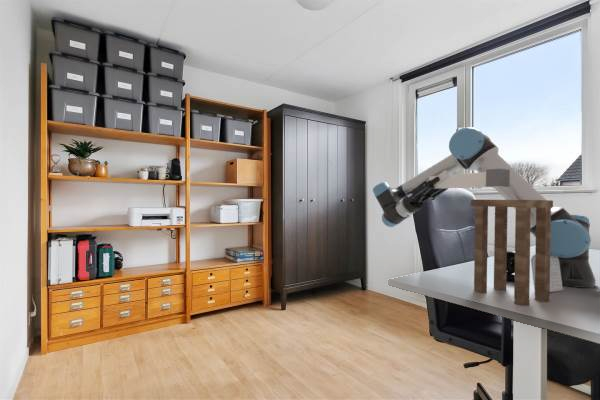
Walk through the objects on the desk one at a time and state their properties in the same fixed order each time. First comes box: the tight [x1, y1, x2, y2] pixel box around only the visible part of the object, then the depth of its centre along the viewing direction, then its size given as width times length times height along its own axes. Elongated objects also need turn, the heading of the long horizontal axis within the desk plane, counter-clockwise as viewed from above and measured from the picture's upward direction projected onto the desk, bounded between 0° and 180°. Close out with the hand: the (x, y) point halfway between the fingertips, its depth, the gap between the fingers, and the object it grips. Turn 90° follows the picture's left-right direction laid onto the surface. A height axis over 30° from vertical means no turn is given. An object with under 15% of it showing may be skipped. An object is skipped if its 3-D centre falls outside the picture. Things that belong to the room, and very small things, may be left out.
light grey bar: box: [429, 169, 510, 189], centre depth 105 cm, size 5×27×5 cm, turn 24°
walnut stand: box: [470, 199, 554, 307], centre depth 91 cm, size 12×16×28 cm
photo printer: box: [530, 253, 563, 293], centre depth 98 cm, size 10×4×12 cm, turn 117°
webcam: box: [506, 250, 515, 283], centre depth 110 cm, size 8×8×10 cm
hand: (451, 173), depth 110 cm, fingers closed on light grey bar, 4 cm apart
